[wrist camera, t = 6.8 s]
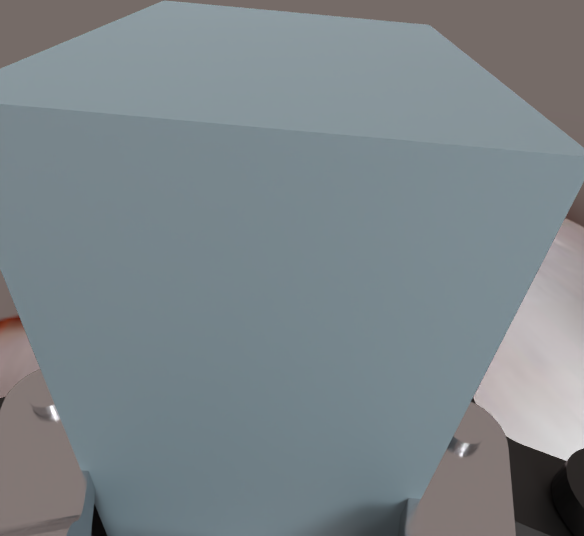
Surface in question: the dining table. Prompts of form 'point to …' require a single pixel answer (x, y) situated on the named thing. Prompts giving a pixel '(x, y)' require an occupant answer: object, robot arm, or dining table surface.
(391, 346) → the blue-grey rectangular block
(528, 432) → the dining table surface
